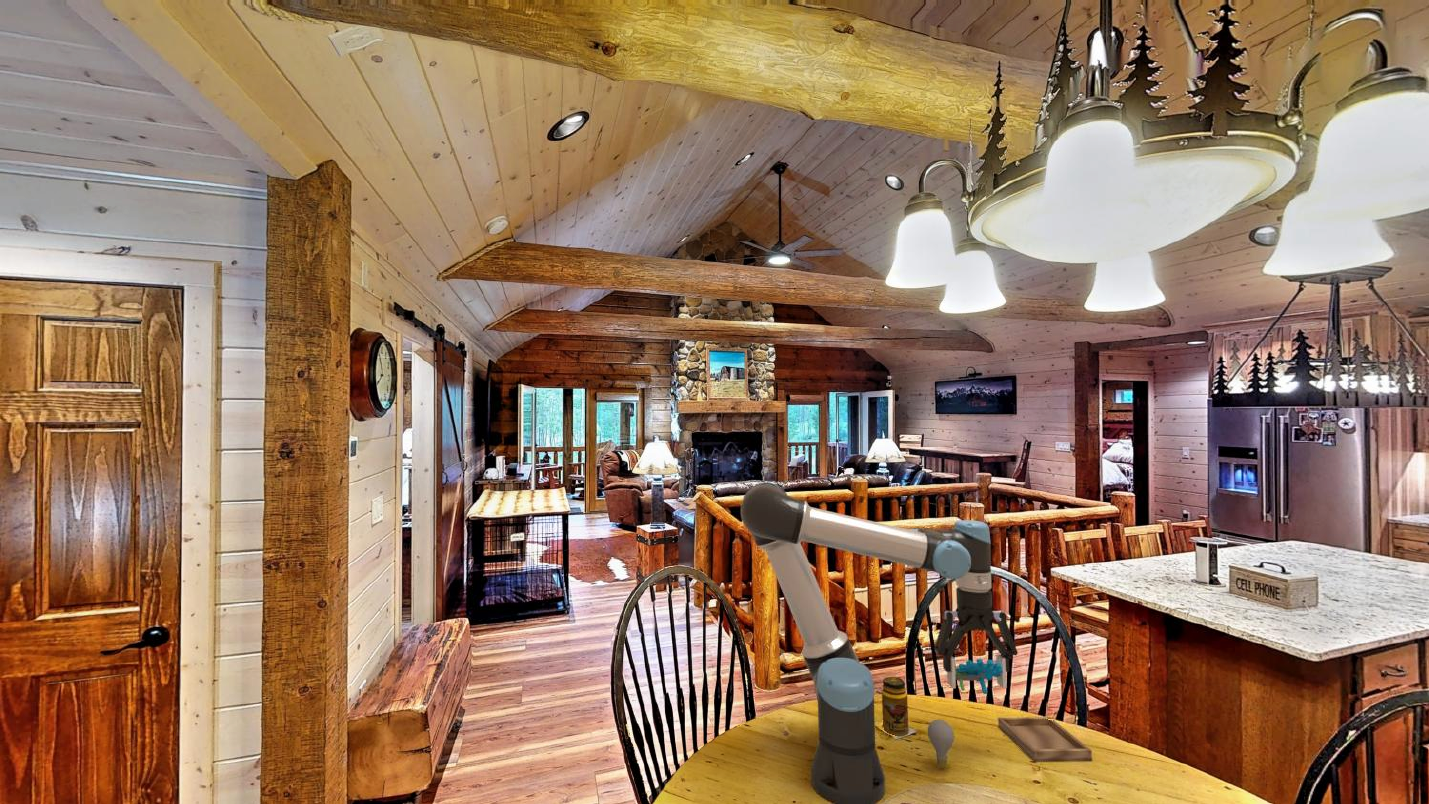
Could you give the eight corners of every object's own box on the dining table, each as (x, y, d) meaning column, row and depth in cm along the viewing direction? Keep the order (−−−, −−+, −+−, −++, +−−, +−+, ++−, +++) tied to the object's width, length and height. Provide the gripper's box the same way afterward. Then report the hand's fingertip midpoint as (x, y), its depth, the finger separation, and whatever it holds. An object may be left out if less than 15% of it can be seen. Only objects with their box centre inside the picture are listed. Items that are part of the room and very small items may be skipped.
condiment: (895, 740, 131) (894, 688, 132) (870, 724, 139) (868, 675, 140) (917, 732, 135) (915, 682, 136) (891, 717, 142) (889, 669, 143)
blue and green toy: (1000, 674, 129) (1002, 655, 123) (1008, 701, 124) (1011, 682, 118) (950, 676, 131) (950, 657, 125) (956, 702, 127) (956, 683, 121)
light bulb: (939, 777, 117) (937, 728, 117) (923, 763, 122) (921, 716, 123) (961, 773, 118) (959, 725, 119) (944, 759, 123) (942, 713, 124)
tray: (1033, 761, 122) (1033, 751, 122) (998, 726, 137) (998, 717, 137) (1092, 760, 122) (1091, 750, 122) (1050, 726, 137) (1050, 717, 137)
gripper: (930, 592, 124) (932, 692, 122) (1032, 592, 124) (1036, 693, 123) (917, 584, 132) (919, 678, 130) (1014, 584, 132) (1017, 678, 130)
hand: (976, 685), depth 126 cm, fingers closed on blue and green toy, 11 cm apart
